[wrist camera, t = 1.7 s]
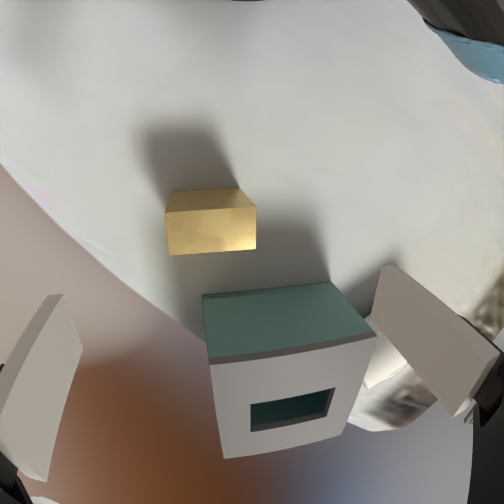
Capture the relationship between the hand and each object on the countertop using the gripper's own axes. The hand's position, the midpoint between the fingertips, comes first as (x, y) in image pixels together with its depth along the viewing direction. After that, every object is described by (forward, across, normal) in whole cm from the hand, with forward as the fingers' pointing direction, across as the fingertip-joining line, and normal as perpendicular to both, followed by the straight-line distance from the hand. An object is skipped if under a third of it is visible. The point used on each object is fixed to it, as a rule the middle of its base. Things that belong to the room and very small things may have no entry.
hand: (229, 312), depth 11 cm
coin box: (+16, +6, -17) cm, 24 cm away
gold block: (+16, 0, 0) cm, 16 cm away
